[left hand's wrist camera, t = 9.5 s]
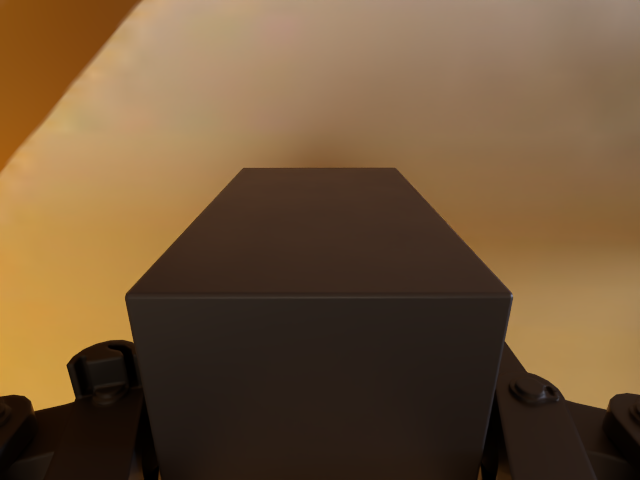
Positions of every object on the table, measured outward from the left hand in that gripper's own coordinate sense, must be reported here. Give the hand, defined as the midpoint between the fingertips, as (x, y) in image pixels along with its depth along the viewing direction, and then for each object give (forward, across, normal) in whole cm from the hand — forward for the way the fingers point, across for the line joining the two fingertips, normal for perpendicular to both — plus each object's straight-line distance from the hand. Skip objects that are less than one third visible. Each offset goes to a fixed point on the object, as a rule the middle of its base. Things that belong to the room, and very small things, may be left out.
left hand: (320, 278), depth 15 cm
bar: (+1, 0, -14) cm, 14 cm away
